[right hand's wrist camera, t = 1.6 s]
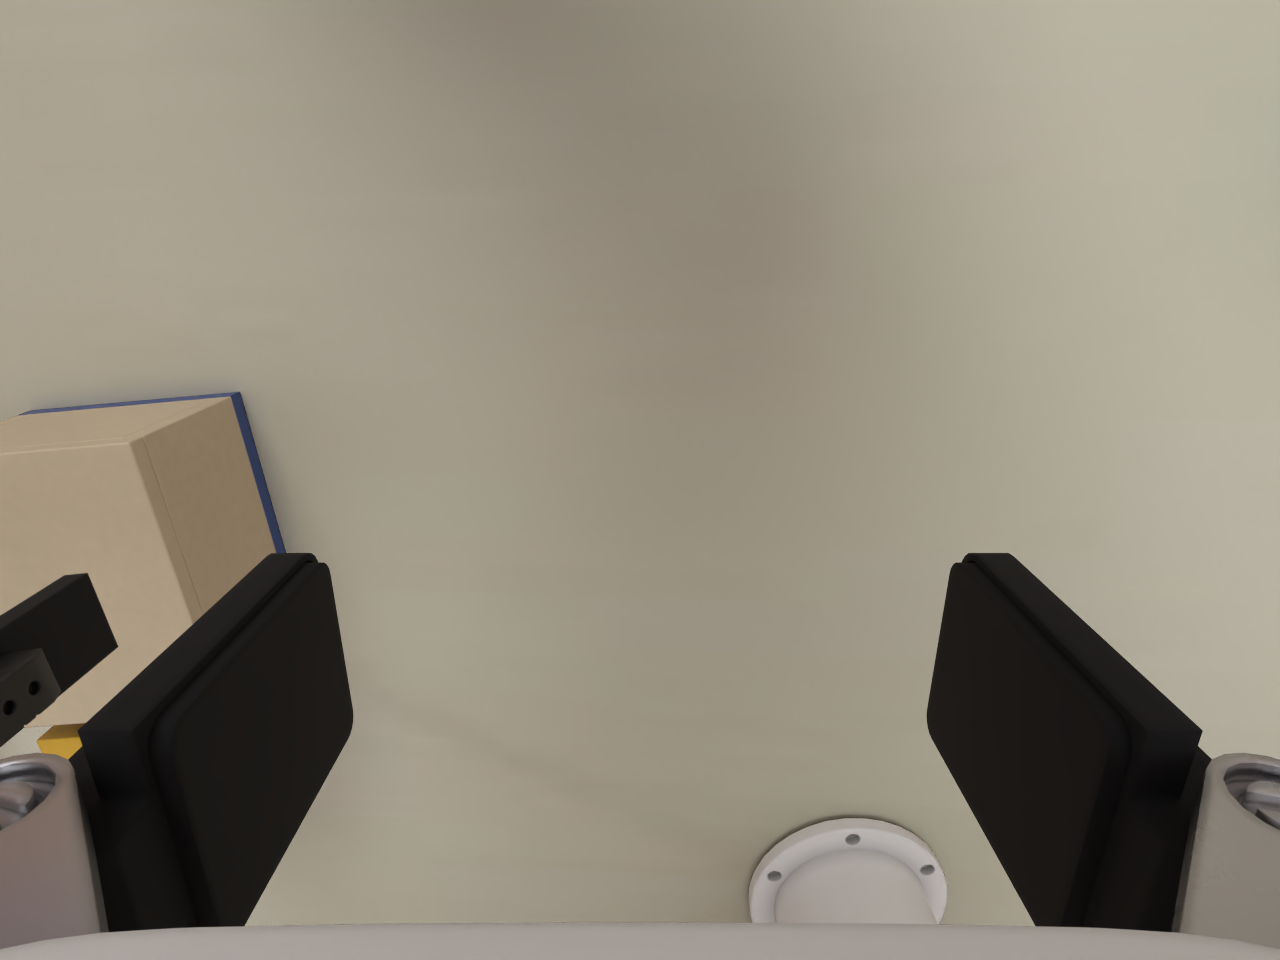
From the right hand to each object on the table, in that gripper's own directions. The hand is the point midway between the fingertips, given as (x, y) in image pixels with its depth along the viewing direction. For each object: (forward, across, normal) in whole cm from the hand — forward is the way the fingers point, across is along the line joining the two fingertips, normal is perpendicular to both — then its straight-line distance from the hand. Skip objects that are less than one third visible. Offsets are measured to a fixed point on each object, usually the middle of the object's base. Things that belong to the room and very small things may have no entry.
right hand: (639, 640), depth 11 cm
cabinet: (+26, -25, -9) cm, 37 cm away
